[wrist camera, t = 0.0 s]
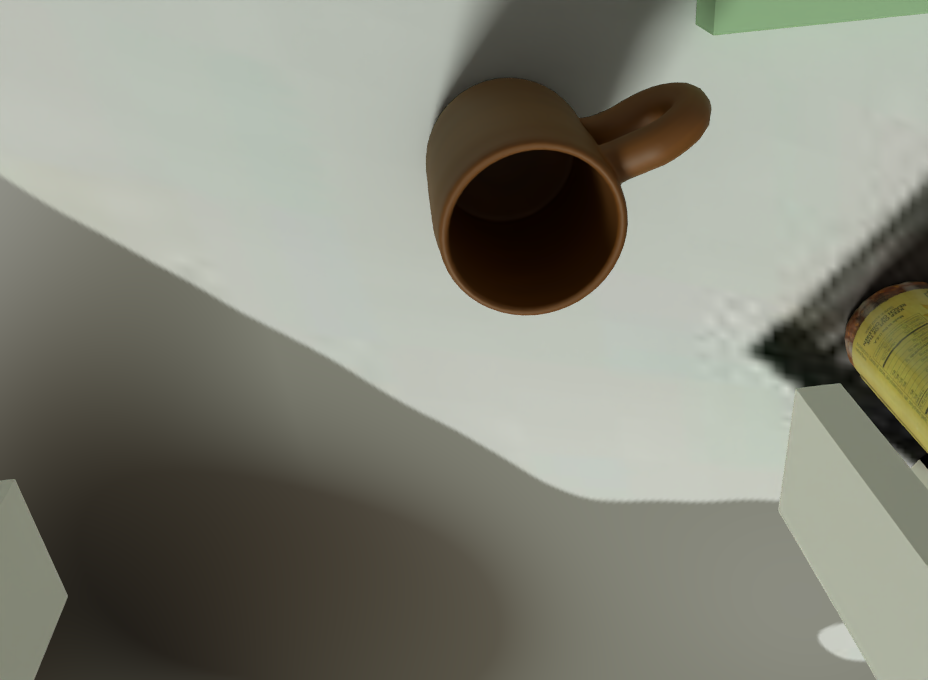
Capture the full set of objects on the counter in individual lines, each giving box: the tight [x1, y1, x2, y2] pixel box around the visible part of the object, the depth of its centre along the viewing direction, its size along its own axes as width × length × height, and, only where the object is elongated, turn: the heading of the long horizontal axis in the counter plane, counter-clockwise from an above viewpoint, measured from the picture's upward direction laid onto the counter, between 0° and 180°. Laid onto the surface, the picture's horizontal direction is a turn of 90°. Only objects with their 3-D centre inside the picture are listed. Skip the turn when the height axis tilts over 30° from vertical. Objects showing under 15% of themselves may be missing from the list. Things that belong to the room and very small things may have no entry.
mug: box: [426, 78, 711, 315], centre depth 37 cm, size 12×8×9 cm, turn 123°
